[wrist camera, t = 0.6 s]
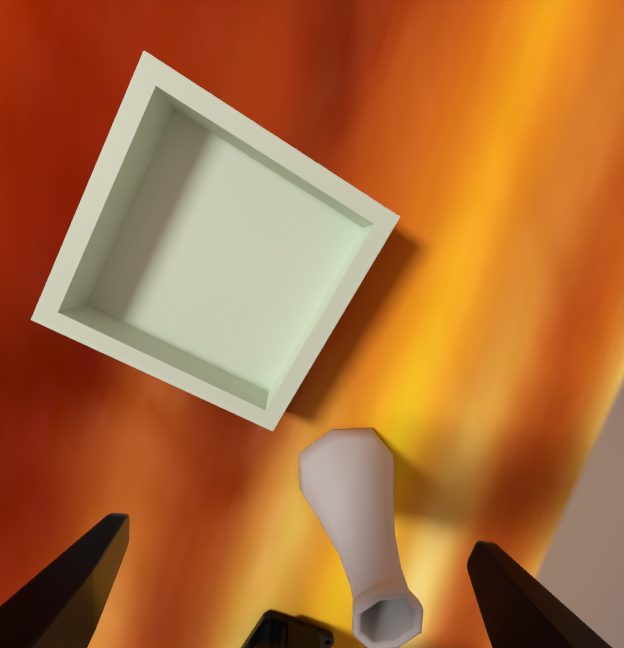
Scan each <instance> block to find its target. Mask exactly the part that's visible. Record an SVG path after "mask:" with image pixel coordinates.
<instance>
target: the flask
mask: <svg viewBox="0 0 624 648" xmlns="http://www.w3.org/2000/svg"><path fill="white" fill-rule="evenodd" d="M299 485H300V490H301V492H302V493H303V495H304V497H305V498H306V500H307V502H308V503H309V505H310V506H311V508H312V509H313V511H314V513H315V514H316V516H317V517H318V519H319V521H320V522H321V524H322V526H323V528H324V529H325V531H326V533H327V534H328V536H329V538H330V540H331V541H332V543H333V545H334V547H335V548H336V550H337V552H338V554H339V556H340V559H341V562H342V564H343V567H344V570H345V572H346V575H347V578H348V580H349V583H350V586H351V591H352V596H353V619H352V630H353V634H354V636H355V637H356V638H357V639H358V640H359V641H360V642H361V643H362V644H364V645H365V646H366V647H367V648H398V647H400V646H401V645H403V644H404V643H406V642H408V641H409V640H411V639H412V638H414V637H415V636H417V635H418V634H420V633H421V630H422V620H423V608H422V605H421V603H420V602H419V600H418V599H417V598H416V597H415V595H414V594H413V593H412V592H411V591H410V590H409V589H408V586H407V583H406V580H405V578H404V575H403V572H402V569H401V565H400V560H399V554H398V549H397V544H396V538H395V528H394V495H393V492H394V455H393V454H392V453H391V451H390V450H389V449H388V448H387V446H386V445H385V444H384V443H383V441H382V440H381V439H380V438H379V437H378V435H377V434H376V433H375V432H374V430H373V429H372V428H361V429H341V430H331V431H329V432H328V433H326V434H325V435H324V436H322V437H321V438H320V439H318V440H317V441H316V442H314V443H313V444H311V445H310V446H309V447H307V448H306V449H305V450H303V451H302V452H300V453H299Z"/></svg>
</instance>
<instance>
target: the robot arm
mask: <svg viewBox="0 0 624 648" xmlns="http://www.w3.org/2000/svg"><path fill="white" fill-rule="evenodd" d="M128 542H129V515H128V514H122V513H111V514H109V515H107V516H106V517H105V518H103V519H102V520H101V521H100V522H99V523H98V524H96V525H95V526H94V527H93V528H92V529H90V530H89V531H88V532H87V533H86V534H85V535H83V536H82V537H81V538H80V539H79V540H78V541H76V542H75V543H74V544H73V545H72V546H70V547H69V548H68V549H67V550H66V551H65V552H63V553H62V554H61V555H60V556H59V557H58V558H56V559H55V560H54V561H53V562H52V563H50V564H49V565H48V566H47V567H46V568H45V569H43V570H42V571H41V572H40V573H39V574H38V575H36V576H35V577H34V578H33V579H32V580H30V581H29V582H28V583H27V584H26V585H25V586H23V587H22V588H21V589H20V590H19V591H18V592H16V593H15V594H14V595H13V596H12V597H10V598H9V599H8V600H7V601H6V602H5V603H3V604H2V605H1V606H0V648H87V647H88V645H89V643H90V640H91V638H92V636H93V634H94V632H95V629H96V627H97V624H98V622H99V619H100V617H101V614H102V612H103V609H104V606H105V604H106V601H107V599H108V596H109V594H110V591H111V588H112V586H113V583H114V581H115V578H116V575H117V573H118V570H119V568H120V565H121V562H122V560H123V557H124V555H125V552H126V549H127V546H128ZM467 569H468V574H469V577H470V580H471V583H472V586H473V589H474V593H475V596H476V599H477V602H478V605H479V608H480V612H481V615H482V618H483V621H484V624H485V627H486V630H487V633H488V636H489V639H490V642H491V645H492V648H612V647H611V646H610V645H608V644H607V643H606V642H605V641H604V640H603V639H602V638H601V637H600V636H598V635H597V634H596V633H595V632H594V631H593V630H592V629H591V628H589V627H588V626H587V625H586V624H585V623H584V622H583V621H582V620H580V619H579V618H578V617H577V616H576V615H575V614H574V613H573V612H572V611H570V610H569V609H568V608H567V607H566V606H565V605H564V604H563V603H561V602H560V601H559V600H558V599H557V598H555V596H554V595H552V594H551V593H550V592H549V591H548V590H547V589H546V588H545V587H544V586H542V585H541V584H540V583H539V582H538V581H537V580H536V579H535V578H533V577H532V576H531V575H530V574H529V573H528V572H527V571H526V570H525V569H523V568H522V567H521V566H520V565H519V564H518V563H517V562H516V561H514V560H513V559H512V558H511V557H510V556H509V555H508V554H507V553H506V552H504V551H503V550H502V549H501V548H500V547H499V546H498V545H496V544H495V543H494V542H491V541H478V542H476V544H475V546H474V548H473V550H472V552H471V554H470V557H469V559H468V561H467ZM333 643H334V638H333V634H332V633H331V632H328V631H325V630H322V629H319V628H316V627H314V626H311V625H308V624H305V623H302V622H299V621H296V620H293V619H291V618H288V617H285V616H282V615H279V614H276V613H273V612H266V613H264V614H263V615H262V617H261V618H260V620H259V621H258V623H257V624H256V626H255V627H254V629H253V630H252V632H251V633H250V635H249V637H248V638H247V640H246V641H245V643H244V644H243V646H242V647H241V648H331V646H332V645H333Z"/></svg>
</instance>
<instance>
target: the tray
mask: <svg viewBox="0 0 624 648" xmlns="http://www.w3.org/2000/svg"><path fill="white" fill-rule="evenodd" d="M399 218H400V216H398V215H396V214H395V213H393V212H392V211H390V210H389V209H387V208H386V207H384V206H383V205H381V204H380V203H378V202H376V201H375V200H373V199H372V198H370V197H369V196H367V195H366V194H364V193H363V192H361V191H360V190H358V189H356V188H355V187H353V186H352V185H350V184H349V183H347V182H346V181H344V180H343V179H341V178H339V177H338V176H336V175H335V174H333V173H332V172H330V171H329V170H327V169H326V168H324V167H323V166H321V165H319V164H318V163H316V162H315V161H313V160H312V159H310V158H309V157H307V156H306V155H304V154H303V153H301V152H299V151H298V150H296V149H295V148H293V147H292V146H290V145H289V144H287V143H286V142H284V141H283V140H281V139H279V138H278V137H276V136H275V135H273V134H272V133H270V132H269V131H267V130H266V129H264V128H263V127H261V126H259V125H258V124H256V123H255V122H253V121H252V120H250V119H249V118H247V117H246V116H244V115H243V114H241V113H239V112H238V111H236V110H235V109H233V108H232V107H230V106H229V105H227V104H226V103H224V102H223V101H221V100H219V99H218V98H216V97H215V96H213V95H212V94H210V93H209V92H207V91H206V90H204V89H202V88H201V87H199V86H198V85H196V84H195V83H193V82H192V81H190V80H189V79H187V78H186V77H184V76H182V75H181V74H179V73H178V72H176V71H175V70H173V69H172V68H170V67H169V66H167V65H166V64H164V63H162V62H161V61H159V60H158V59H156V58H155V57H153V56H152V55H150V54H149V53H147V52H146V51H143V53H142V56H141V58H140V60H139V63H138V65H137V68H136V70H135V72H134V75H133V77H132V80H131V82H130V84H129V87H128V89H127V92H126V94H125V96H124V99H123V101H122V103H121V106H120V108H119V111H118V113H117V115H116V118H115V120H114V123H113V125H112V127H111V130H110V132H109V134H108V137H107V139H106V142H105V144H104V146H103V149H102V151H101V154H100V156H99V158H98V161H97V163H96V166H95V168H94V170H93V173H92V175H91V177H90V180H89V182H88V185H87V187H86V189H85V192H84V194H83V197H82V199H81V201H80V204H79V206H78V209H77V211H76V213H75V216H74V218H73V220H72V223H71V225H70V228H69V230H68V232H67V235H66V237H65V240H64V242H63V244H62V247H61V249H60V252H59V254H58V256H57V259H56V261H55V263H54V266H53V268H52V271H51V273H50V275H49V278H48V280H47V283H46V285H45V287H44V290H43V292H42V294H41V297H40V299H39V302H38V304H37V306H36V309H35V311H34V314H33V316H32V318H31V320H32V321H35V322H37V323H39V324H41V325H43V326H45V327H48V328H50V329H52V330H54V331H56V332H58V333H61V334H63V335H65V336H67V337H69V338H71V339H74V340H76V341H78V342H80V343H82V344H84V345H87V346H89V347H91V348H93V349H95V350H97V351H100V352H102V353H104V354H106V355H108V356H110V357H113V358H115V359H117V360H119V361H121V362H123V363H126V364H128V365H130V366H132V367H134V368H136V369H139V370H141V371H143V372H145V373H147V374H149V375H152V376H154V377H156V378H158V379H160V380H162V381H165V382H167V383H169V384H171V385H173V386H175V387H178V388H180V389H182V390H184V391H186V392H188V393H191V394H193V395H195V396H197V397H199V398H202V399H204V400H206V401H208V402H210V403H212V404H215V405H217V406H219V407H221V408H223V409H225V410H228V411H230V412H232V413H234V414H236V415H238V416H241V417H243V418H245V419H247V420H249V421H251V422H254V423H256V424H258V425H260V426H262V427H264V428H267V429H269V430H271V431H273V430H274V428H275V427H276V425H277V423H278V422H279V420H280V418H281V417H282V415H283V413H284V412H285V410H286V408H287V406H288V405H289V403H290V401H291V400H292V398H293V396H294V395H295V393H296V391H297V390H298V388H299V386H300V385H301V383H302V381H303V380H304V378H305V376H306V375H307V373H308V371H309V370H310V368H311V366H312V364H313V363H314V361H315V359H316V358H317V356H318V354H319V353H320V351H321V349H322V348H323V346H324V344H325V343H326V341H327V339H328V338H329V336H330V334H331V333H332V331H333V329H334V328H335V326H336V324H337V322H338V321H339V319H340V317H341V316H342V314H343V312H344V311H345V309H346V307H347V306H348V304H349V302H350V301H351V299H352V297H353V296H354V294H355V292H356V291H357V289H358V287H359V286H360V284H361V282H362V280H363V279H364V277H365V275H366V274H367V272H368V270H369V269H370V267H371V265H372V264H373V262H374V260H375V259H376V257H377V255H378V254H379V252H380V250H381V249H382V247H383V245H384V243H385V242H386V240H387V238H388V237H389V235H390V233H391V232H392V230H393V228H394V227H395V225H396V223H397V222H398V220H399Z"/></svg>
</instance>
